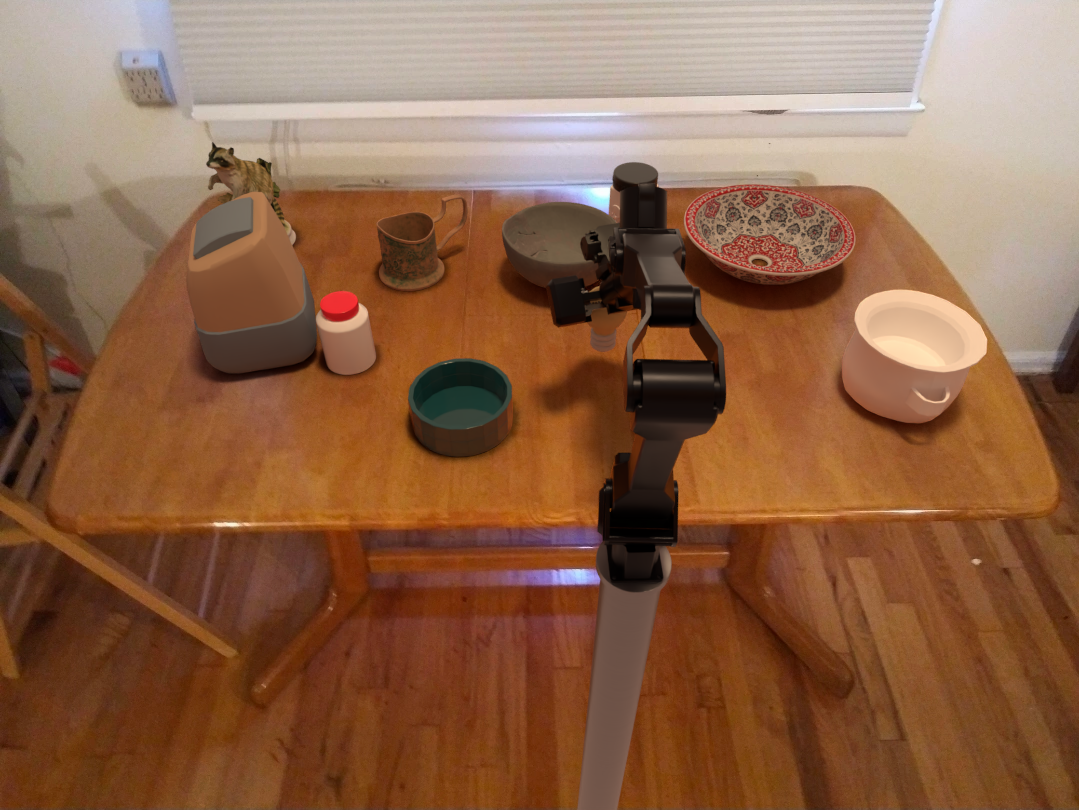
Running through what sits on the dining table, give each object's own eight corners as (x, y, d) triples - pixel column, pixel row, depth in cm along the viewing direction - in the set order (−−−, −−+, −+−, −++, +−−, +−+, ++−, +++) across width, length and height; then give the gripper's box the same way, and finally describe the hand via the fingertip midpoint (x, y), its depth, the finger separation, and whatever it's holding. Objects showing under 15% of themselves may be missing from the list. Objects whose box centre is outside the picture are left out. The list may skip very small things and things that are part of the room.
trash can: (214, 320, 129) (167, 193, 113) (317, 305, 132) (286, 179, 116) (210, 387, 117) (157, 256, 101) (323, 368, 120) (289, 238, 104)
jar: (598, 226, 150) (602, 168, 141) (631, 213, 153) (636, 156, 145) (629, 247, 145) (634, 189, 136) (662, 234, 148) (669, 175, 140)
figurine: (215, 251, 144) (180, 148, 130) (266, 217, 152) (239, 117, 138) (262, 268, 140) (231, 164, 126) (312, 233, 148) (288, 132, 134)
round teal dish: (513, 455, 108) (512, 428, 104) (408, 458, 107) (403, 430, 103) (512, 384, 118) (511, 357, 114) (417, 386, 117) (412, 359, 114)
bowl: (601, 322, 129) (605, 271, 122) (486, 298, 133) (483, 248, 126) (631, 257, 142) (636, 208, 135) (525, 237, 147) (525, 189, 140)
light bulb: (628, 337, 117) (633, 281, 110) (619, 363, 112) (623, 306, 106) (587, 330, 118) (589, 274, 112) (576, 356, 114) (577, 298, 107)
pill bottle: (335, 340, 125) (322, 284, 118) (382, 345, 124) (372, 288, 117) (319, 372, 120) (304, 315, 112) (368, 377, 119) (356, 320, 111)
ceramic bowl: (712, 207, 155) (718, 169, 150) (860, 247, 145) (873, 209, 139) (652, 281, 137) (657, 242, 131) (817, 333, 127) (829, 293, 121)
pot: (817, 343, 125) (837, 280, 116) (926, 345, 124) (955, 282, 116) (851, 443, 109) (878, 379, 101) (976, 447, 109) (1014, 382, 100)
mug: (485, 266, 140) (482, 206, 132) (397, 298, 133) (388, 238, 125) (453, 237, 147) (448, 178, 139) (368, 267, 140) (357, 207, 132)
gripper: (690, 206, 99) (650, 240, 114) (549, 228, 95) (527, 260, 110) (709, 292, 98) (666, 314, 114) (568, 317, 95) (543, 337, 110)
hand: (601, 304), depth 112 cm, fingers closed on light bulb, 6 cm apart
